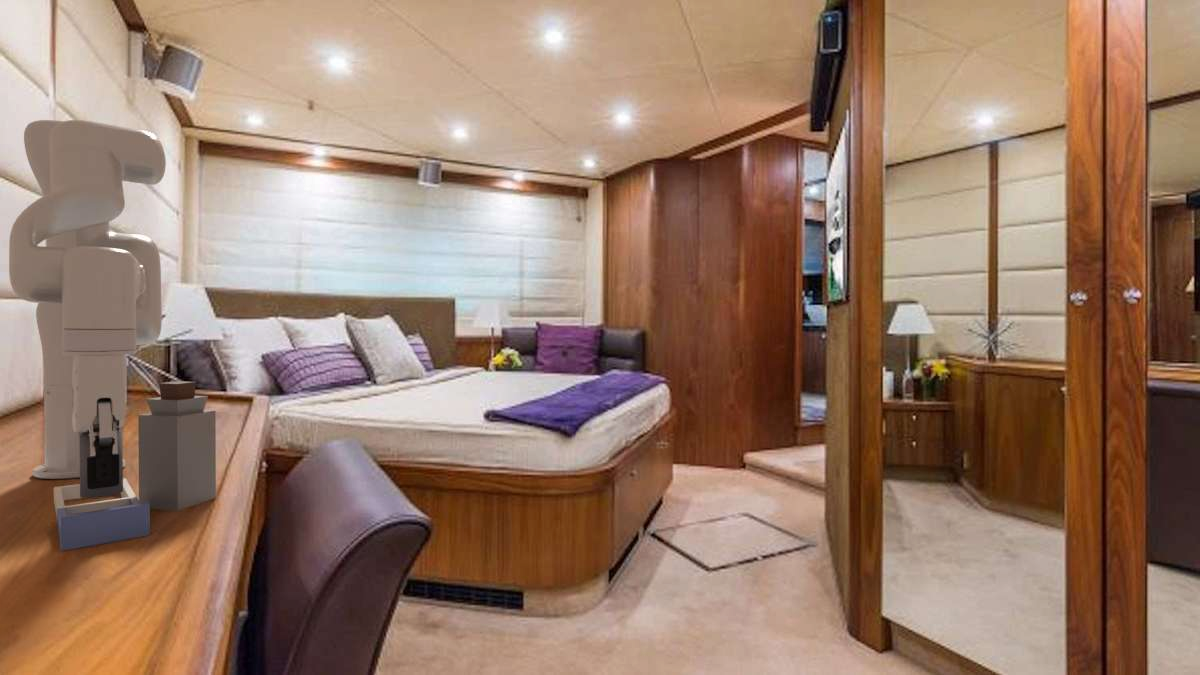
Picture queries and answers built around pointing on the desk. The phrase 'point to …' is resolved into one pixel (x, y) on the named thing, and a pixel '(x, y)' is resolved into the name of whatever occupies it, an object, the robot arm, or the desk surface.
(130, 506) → the blue-fronted open tray
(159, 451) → the perfume bottle
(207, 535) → the desk surface
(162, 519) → the desk surface
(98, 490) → the grey two-tone upright block
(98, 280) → the robot arm
